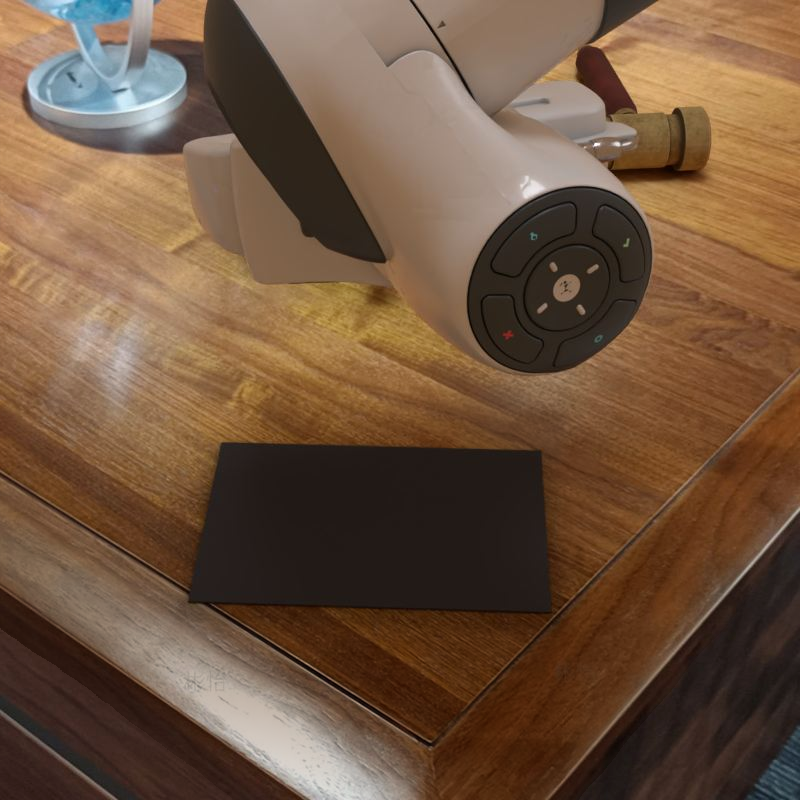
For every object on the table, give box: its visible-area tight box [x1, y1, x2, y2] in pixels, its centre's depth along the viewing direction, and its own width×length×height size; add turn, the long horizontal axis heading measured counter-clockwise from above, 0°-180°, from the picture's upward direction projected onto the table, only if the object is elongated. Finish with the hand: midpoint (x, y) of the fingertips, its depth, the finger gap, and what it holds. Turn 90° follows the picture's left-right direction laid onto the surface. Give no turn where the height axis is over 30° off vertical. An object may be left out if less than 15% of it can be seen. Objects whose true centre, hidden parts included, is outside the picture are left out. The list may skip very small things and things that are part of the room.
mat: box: [187, 441, 552, 614], centre depth 72 cm, size 18×12×1 cm, turn 88°
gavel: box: [575, 44, 712, 172], centre depth 106 cm, size 21×5×10 cm
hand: (362, 125), depth 72 cm, fingers open, 8 cm apart
